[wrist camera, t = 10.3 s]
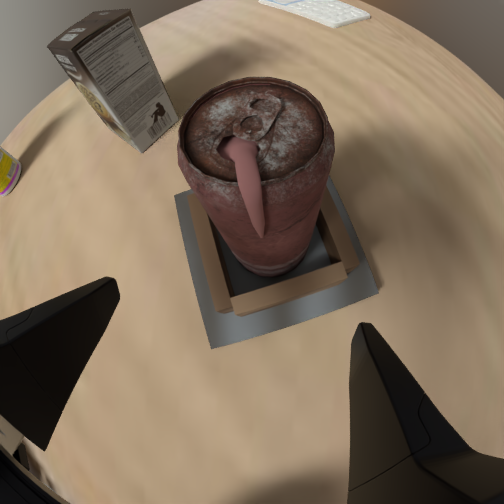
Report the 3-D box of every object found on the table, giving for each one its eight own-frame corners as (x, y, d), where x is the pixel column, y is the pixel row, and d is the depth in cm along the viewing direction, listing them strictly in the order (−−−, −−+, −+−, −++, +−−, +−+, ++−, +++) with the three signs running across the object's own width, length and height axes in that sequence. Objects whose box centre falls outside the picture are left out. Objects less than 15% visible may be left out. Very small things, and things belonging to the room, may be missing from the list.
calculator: (333, 31, 33) (334, 23, 31) (256, 4, 38) (255, -3, 37) (371, 20, 35) (372, 13, 33) (298, -7, 40) (298, -13, 38)
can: (240, 288, 21) (170, 219, 8) (228, 215, 23) (170, 89, 10) (316, 273, 21) (367, 182, 8) (298, 201, 23) (308, 62, 9)
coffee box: (107, 129, 30) (44, 46, 14) (142, 98, 31) (93, 9, 15) (141, 156, 27) (66, 50, 12) (181, 118, 28) (131, 5, 13)
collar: (214, 348, 21) (200, 351, 17) (177, 200, 25) (162, 179, 21) (374, 294, 21) (393, 287, 17) (315, 157, 25) (320, 131, 21)
